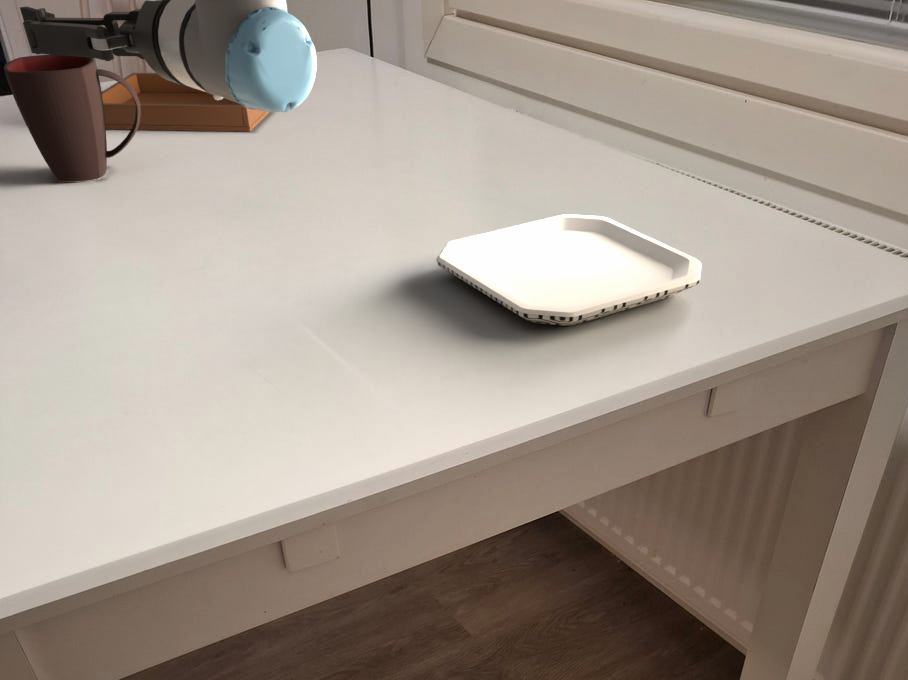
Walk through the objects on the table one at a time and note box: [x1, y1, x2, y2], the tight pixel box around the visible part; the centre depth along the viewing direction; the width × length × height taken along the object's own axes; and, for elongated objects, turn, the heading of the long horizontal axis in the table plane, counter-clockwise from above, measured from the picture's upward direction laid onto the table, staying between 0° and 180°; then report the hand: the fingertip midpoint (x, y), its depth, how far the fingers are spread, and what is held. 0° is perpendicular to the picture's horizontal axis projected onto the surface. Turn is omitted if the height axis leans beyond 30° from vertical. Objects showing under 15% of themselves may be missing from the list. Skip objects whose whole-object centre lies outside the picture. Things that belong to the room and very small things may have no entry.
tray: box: [101, 72, 271, 133], centre depth 133 cm, size 24×20×3 cm
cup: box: [3, 54, 141, 183], centre depth 109 cm, size 10×14×12 cm
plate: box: [436, 213, 703, 327], centre depth 86 cm, size 21×21×2 cm
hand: (90, 14), depth 95 cm, fingers open, 13 cm apart
